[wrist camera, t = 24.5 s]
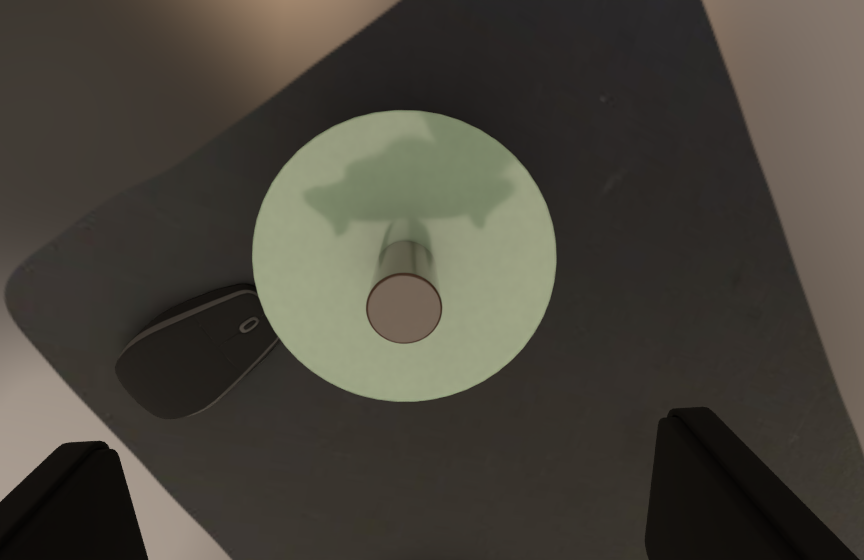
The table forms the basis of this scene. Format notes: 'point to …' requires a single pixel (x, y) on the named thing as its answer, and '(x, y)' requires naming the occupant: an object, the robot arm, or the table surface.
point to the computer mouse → (196, 352)
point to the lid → (404, 255)
